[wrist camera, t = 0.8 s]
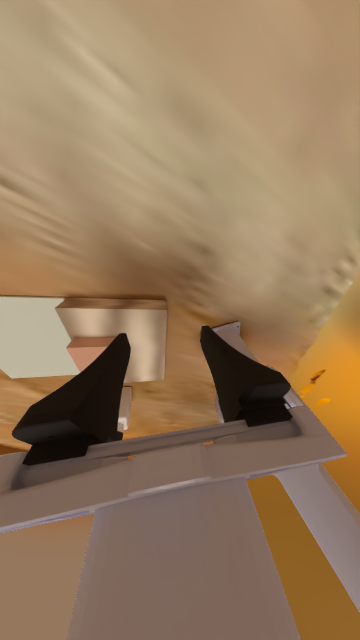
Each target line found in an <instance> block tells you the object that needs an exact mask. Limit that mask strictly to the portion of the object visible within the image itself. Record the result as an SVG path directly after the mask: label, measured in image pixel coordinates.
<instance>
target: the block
mask: <svg viewBox="0 0 360 640" xmlns="http://www.w3.org/2000/svg"><path fill="white" fill-rule="evenodd" d="M115 338H116V337H82V338H73V339H72V341H71V342H70V343H69V344H68V346H67V347H66V349H67V351H68V352H69V354H70V356H71V357H72V359H73V361H74V363H75V364H76V366H77V368H78V370H79V371H80V372H82V371H83V370H84V369H85V368H86V367H88V366H89V365H90V364H91V363H92V362H93V361H94V360H95V359H96V358H97V357H98V356H99V355H100V354H101V353H102V352H103V351H104V350H105V349H106V348H107V347H108V346H109V344H110V343H111V342H112V341H113V340H114V339H115Z"/></svg>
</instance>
